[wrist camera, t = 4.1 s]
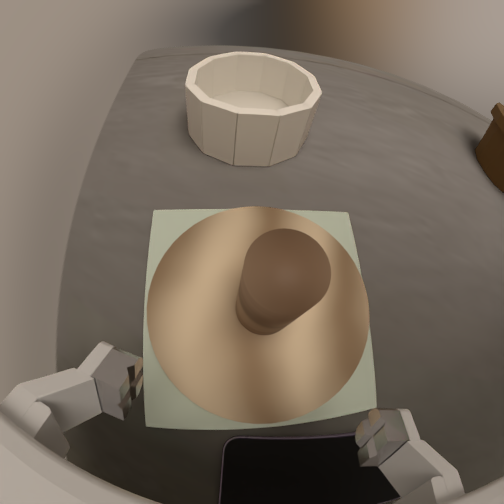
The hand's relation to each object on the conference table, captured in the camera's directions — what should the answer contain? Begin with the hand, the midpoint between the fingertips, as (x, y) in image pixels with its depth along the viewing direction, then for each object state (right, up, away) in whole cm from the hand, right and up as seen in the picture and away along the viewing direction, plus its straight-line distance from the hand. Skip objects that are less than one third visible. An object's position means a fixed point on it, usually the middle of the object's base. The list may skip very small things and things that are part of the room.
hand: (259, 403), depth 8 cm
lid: (0, +1, +10) cm, 10 cm away
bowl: (-1, +18, +18) cm, 26 cm away
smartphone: (+5, -11, +7) cm, 14 cm away
